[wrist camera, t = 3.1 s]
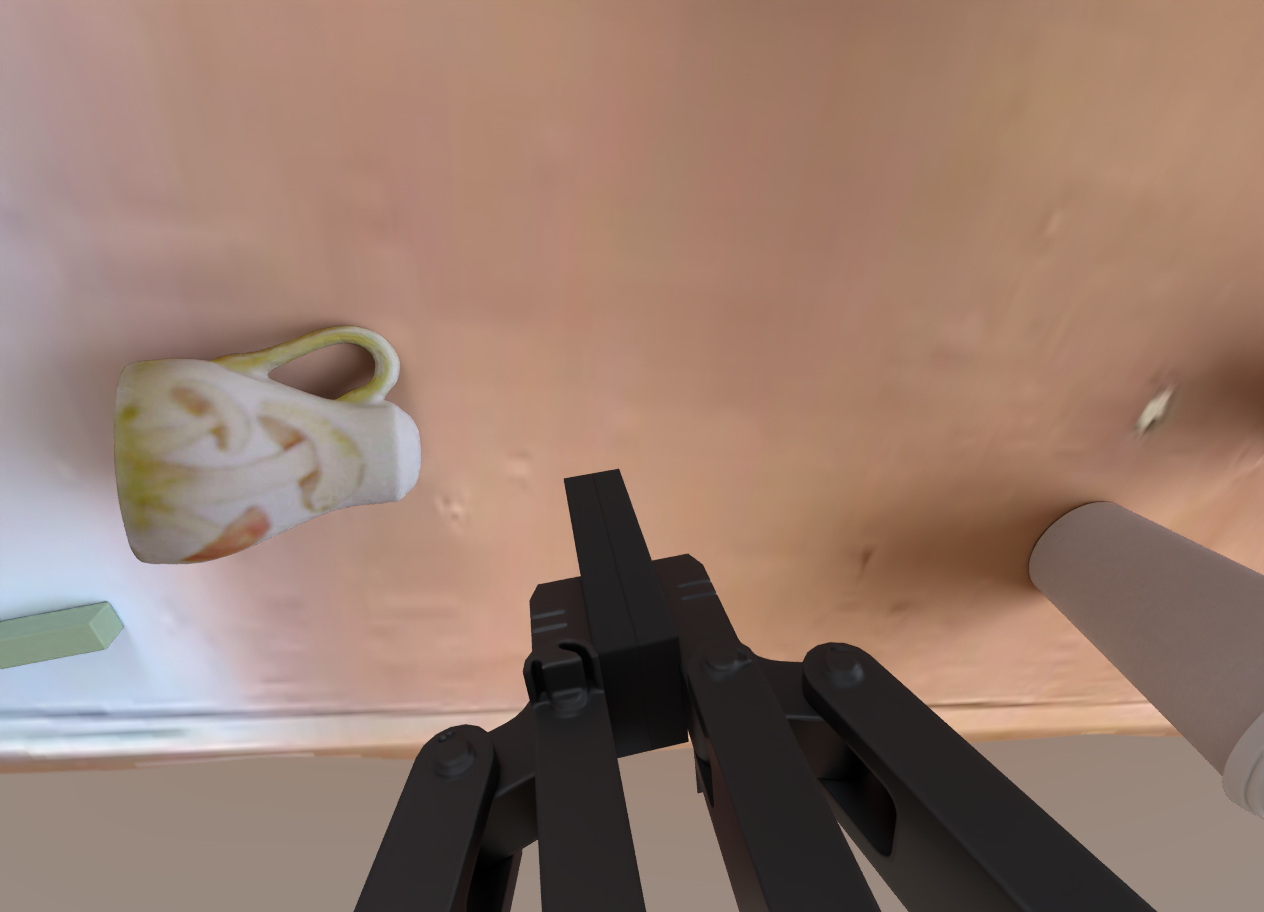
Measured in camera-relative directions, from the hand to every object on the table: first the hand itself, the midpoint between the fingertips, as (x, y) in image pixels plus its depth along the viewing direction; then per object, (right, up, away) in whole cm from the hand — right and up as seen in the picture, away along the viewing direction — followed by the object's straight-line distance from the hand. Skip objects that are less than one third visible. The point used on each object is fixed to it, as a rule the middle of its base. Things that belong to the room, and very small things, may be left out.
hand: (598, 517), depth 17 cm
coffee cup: (+27, -4, +20) cm, 34 cm away
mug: (-13, +3, +9) cm, 16 cm away
